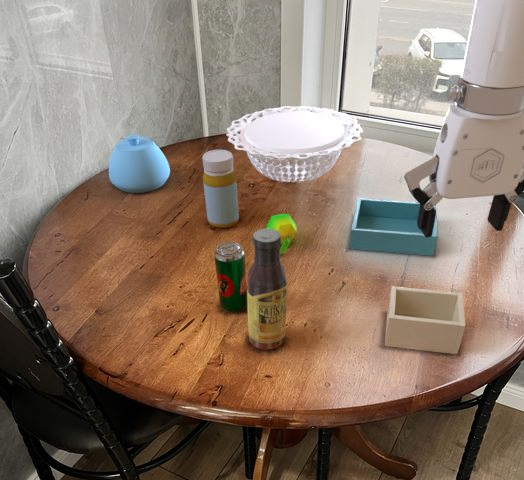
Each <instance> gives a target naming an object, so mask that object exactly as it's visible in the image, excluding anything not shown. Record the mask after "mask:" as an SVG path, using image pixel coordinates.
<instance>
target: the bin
mask: <svg viewBox="0 0 524 480" xmlns="http://www.w3.org/2000/svg"><path fill="white" fill-rule="evenodd" d="M419 208H420V203H419V202H418V201H405V200H393V199H392V200H391V199H390V200H389V199H378V198H377V199H374V198H364V197H363V198H362V197H357V199H356V204H355V208H354V214H353V220H352V223H351V229H350V239H349V240H350V242H349V249H350V250H358V251H359V250H360V251H370V252H372V251H373V252H382V253H393V254H395V253H396V254H407V255H417V256H429V257H434V255H435V251H436V246H437V240H438V211H437V210H438V209H437V204H436V205H435V206H434V208H435V210H436V217H435V222H434V227H433V232H432V236H431V237H428V238H426V237H425V236H424V234H423V233H422V231H421V229H419V228H418V226H417V219H418V213H419Z"/></svg>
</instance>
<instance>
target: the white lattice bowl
mask: <svg viewBox="0 0 524 480" xmlns="http://www.w3.org/2000/svg"><path fill="white" fill-rule="evenodd" d="M313 111H314V112H313ZM260 115H262V116H260ZM361 126H362V125H361V124H359V123H358V120H357V119H356V118H352V117H350V116H349V114H347V113H346V112H340V111H336V110H334V109H331V108H320V107H319V106H317V107H311V106H308V105H301V106H290V105H284V106H281V107H273V108H272V107H271V108H265V109H263V110H260V111H258V110H257V111H254V112H253V113H247V114H244V115H243V116H242V117H240V118H238V119H233V120H232V121H231V125H230V126H229V127H227V128H226V131H227V133H226V135H225V136H226V137H228V138H227V142H229V143H231V145H233V146H234V149H235V150H237V151H244V152H246V156H247V157H248V159H249V161H250V164H252V166H253V167H254V169H256V171H257V172H259V173H260V174H261V175H263V176H264V177H266V178H268V179H271V180H272V181H274V180H275V181H276V182H281V183H284V182H286V183H295V182H296V183H301V182H307V181H308V182H310V181H311V180H313V181H314V180H315V179H318V178H320V177H322V176H323V175H325V174H327V173H328V172H330V170H331V169H333V167H334V166H335V164H336V163H337V161H338V160H339V158H340V155H341V154H342V150H346V149H349V148H351V147H352V146H353V144H355V143H357V142H361V140H362V137H361V134H363V132H364V130H363V128H362V127H361ZM238 132H239V133H238ZM288 160H289V161H288Z"/></svg>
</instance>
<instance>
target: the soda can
mask: <svg viewBox="0 0 524 480" xmlns="http://www.w3.org/2000/svg"><path fill="white" fill-rule="evenodd" d="M213 255H214V263H215V264H214V265H215V274H216V281H217V282H216V283H217V288H218V289H217V290H218V300H219V306H220V307H221V309H222V310H224V311H225V312H228V313H238V312H241V311H242V310H244V309H245V308H246V307H248V304H247V286H248V282H247V270H246V257H245V251H244V249H243V247H242V245H241V244H240V243H238V242H235V241H225V242H222V243H219V244H218V245H217V246H216V248H215V252H214V254H213Z"/></svg>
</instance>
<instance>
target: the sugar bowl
mask: <svg viewBox="0 0 524 480" xmlns="http://www.w3.org/2000/svg"><path fill="white" fill-rule="evenodd" d="M170 174H171V169H170V164H169V162H168V159H167V157H166V155H165V154H164V153H163V151H162V150H161V149H160V148H159V147H158V145H157V144H156V143H155V141H153V140H152V139H151V138H148V137H144V136H140V135H139V134H136V133H133V134H128V135H127V136H126V137H125V138H124V139H121V140H120V141H118V142H117V143H116V144H115V146H114V148H113V150H112V152H111V155H110V158H109V164H108V177H109V181H110V182H111V184H112V185H113V186H115V188H117V189H119V190H120V191H122V192H125V193H128V194H129V193H130V194H142V193H148V192H152V191H155V190H157V189H159V188H161V187H162V186H164V185H165V184H166V182H167V180H168V179H169V177H170Z"/></svg>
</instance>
